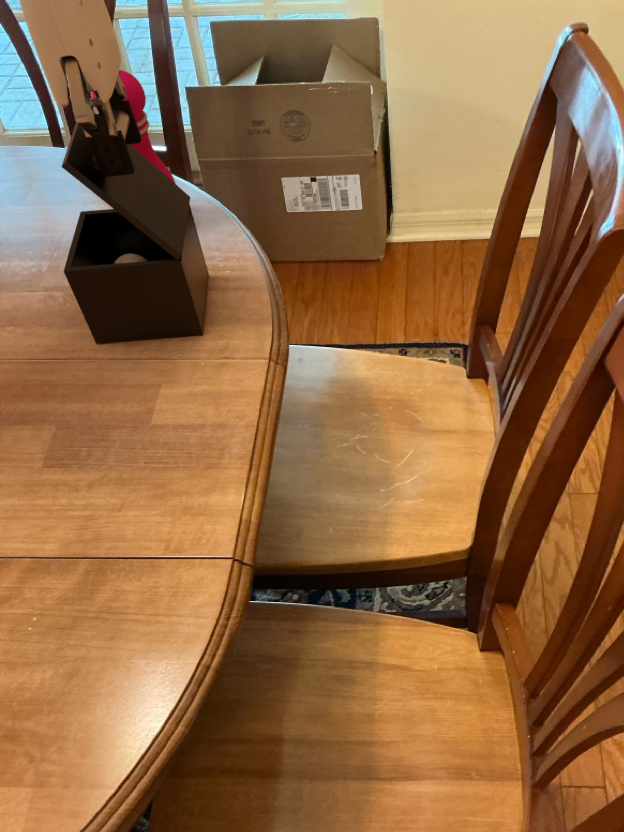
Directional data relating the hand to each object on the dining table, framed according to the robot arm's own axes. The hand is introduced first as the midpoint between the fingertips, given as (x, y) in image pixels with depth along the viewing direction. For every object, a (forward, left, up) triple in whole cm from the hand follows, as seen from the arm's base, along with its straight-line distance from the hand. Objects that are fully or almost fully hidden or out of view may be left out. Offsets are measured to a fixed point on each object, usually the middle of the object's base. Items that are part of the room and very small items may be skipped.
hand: (122, 156), depth 77 cm
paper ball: (-4, 0, -16) cm, 17 cm away
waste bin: (-2, 0, -18) cm, 18 cm away
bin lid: (0, 0, -3) cm, 3 cm away
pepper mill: (-4, +19, -19) cm, 27 cm away
